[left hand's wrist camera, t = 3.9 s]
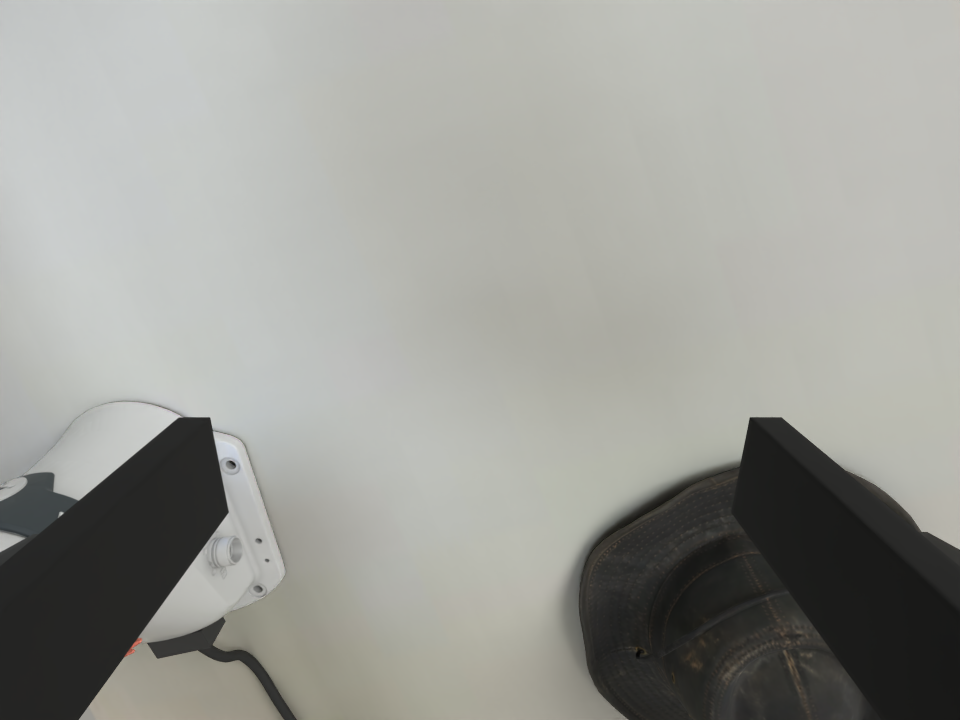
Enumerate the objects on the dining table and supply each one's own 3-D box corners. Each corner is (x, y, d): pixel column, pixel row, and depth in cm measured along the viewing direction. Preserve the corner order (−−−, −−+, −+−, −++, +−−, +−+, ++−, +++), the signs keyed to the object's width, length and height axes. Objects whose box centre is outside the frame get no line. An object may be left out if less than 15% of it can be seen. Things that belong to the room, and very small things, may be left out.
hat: (608, 759, 58) (647, 938, 45) (549, 496, 46) (577, 632, 33) (907, 712, 55) (1043, 887, 42) (925, 421, 44) (1124, 534, 30)
